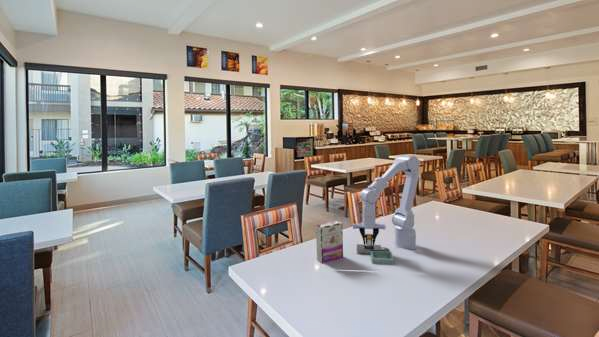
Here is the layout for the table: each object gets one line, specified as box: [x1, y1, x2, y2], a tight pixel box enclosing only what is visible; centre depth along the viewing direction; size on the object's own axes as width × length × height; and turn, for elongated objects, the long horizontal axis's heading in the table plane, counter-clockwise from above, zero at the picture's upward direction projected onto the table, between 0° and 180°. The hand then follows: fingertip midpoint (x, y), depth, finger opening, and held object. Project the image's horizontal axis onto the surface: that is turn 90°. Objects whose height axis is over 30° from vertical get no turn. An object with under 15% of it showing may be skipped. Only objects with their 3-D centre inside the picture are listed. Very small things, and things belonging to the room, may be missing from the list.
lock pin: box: [365, 233, 373, 249], centre depth 149 cm, size 4×4×7 cm
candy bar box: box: [315, 220, 344, 264], centre depth 142 cm, size 11×5×16 cm, turn 117°
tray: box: [370, 251, 395, 265], centre depth 140 cm, size 9×9×2 cm
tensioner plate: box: [356, 243, 391, 255], centre depth 149 cm, size 15×7×3 cm, turn 81°
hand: (369, 243), depth 149 cm, fingers closed on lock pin, 3 cm apart
